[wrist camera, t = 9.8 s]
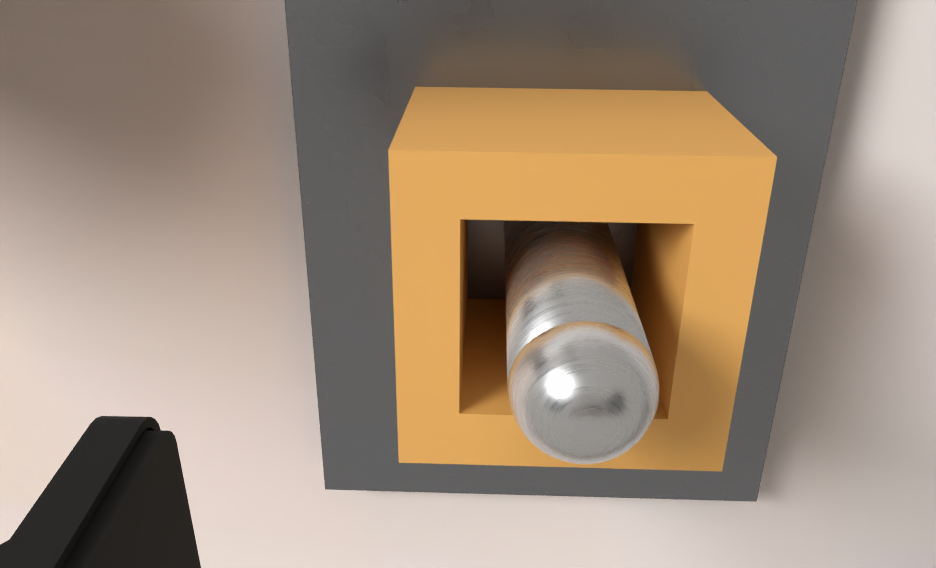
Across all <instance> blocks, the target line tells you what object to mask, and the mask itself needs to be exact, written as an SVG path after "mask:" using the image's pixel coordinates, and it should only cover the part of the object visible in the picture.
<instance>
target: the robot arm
mask: <svg viewBox="0 0 936 568" xmlns="http://www.w3.org/2000/svg"><path fill="white" fill-rule="evenodd" d="M0 568H201V566H200V561H199V556H198V550H197V545H196V540H195V535H194V530H193V525H192V520H191V514H190V509H189V504H188V499H187V494H186V489H185V484H184V478H183V473H182V468H181V463H180V458H179V453H178V448H177V442H176V439H175V436H174V434H173V433H172V432H171V431H161V430H160V427H159V424H158V423H157V421H156V420H155V419H154V418H152V417H120V416H101V417H98V418H96V419H95V420H94V421H93V422H92V423H91V424H90V425H89V427H88V428H87V430H86V431H85V432H84V434H83V435H82V437H81V438H80V440H79V441H78V442H77V444H76V445H75V447H74V448H73V450H72V451H71V453H70V454H69V455H68V457H67V458H66V460H65V461H64V463H63V464H62V465H61V467H60V468H59V470H58V471H57V473H56V474H55V475H54V477H53V478H52V480H51V481H50V483H49V484H48V485H47V487H46V488H45V490H44V491H43V493H42V494H41V495H40V497H39V498H38V500H37V501H36V503H35V504H34V505H33V507H32V508H31V510H30V511H29V513H28V514H27V515H26V517H25V518H24V520H23V521H22V523H21V524H20V525H19V527H18V528H17V530H16V531H15V533H14V534H13V535H12V537H11V538H10V540H8V541H6V542H4V543H3V544H1V545H0Z"/></svg>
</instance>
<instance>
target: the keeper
mask: <svg viewBox="0 0 936 568" xmlns="http://www.w3.org/2000/svg"><path fill="white" fill-rule="evenodd" d="M856 4H857V0H285V10H286V22H287V34H288V46H289V58H290V70H291V82H292V94H293V106H294V118H295V130H296V142H297V154H298V167H299V179H300V191H301V203H302V215H303V227H304V239H305V251H306V263H307V275H308V287H309V299H310V311H311V323H312V335H313V347H314V360H315V372H316V384H317V396H318V408H319V420H320V432H321V444H322V456H323V468H324V480H325V489H333V490H369V491H405V492H440V493H476V494H512V495H548V496H583V497H619V498H655V499H691V500H726V501H757V496H758V491H759V486H760V481H761V476H762V471H763V466H764V461H765V456H766V451H767V446H768V441H769V436H770V431H771V426H772V421H773V416H774V411H775V407H776V402H777V397H778V392H779V387H780V382H781V377H782V372H783V367H784V362H785V357H786V352H787V347H788V342H789V337H790V332H791V327H792V322H793V317H794V312H795V307H796V302H797V297H798V292H799V287H800V282H801V277H802V272H803V267H804V262H805V257H806V252H807V247H808V242H809V238H810V233H811V228H812V223H813V218H814V213H815V208H816V203H817V198H818V193H819V188H820V183H821V178H822V173H823V168H824V163H825V158H826V153H827V148H828V143H829V138H830V133H831V128H832V123H833V118H834V113H835V108H836V103H837V98H838V93H839V88H840V83H841V78H842V73H843V69H844V64H845V59H846V54H847V49H848V44H849V39H850V34H851V29H852V24H853V19H854V14H855V9H856ZM415 87H467V88H531V89H594V90H658V91H707V92H708V93H709V94H710V95H711V96H713V97H714V98H715V99H716V100H717V101H718V102H719V103H720V104H721V105H722V106H723V107H724V108H725V109H726V110H728V111H729V112H730V113H731V114H732V115H733V116H734V117H735V118H736V119H737V120H738V121H739V122H740V123H741V124H742V125H744V126H745V127H746V128H747V129H748V130H749V131H750V132H751V133H752V134H753V135H754V136H755V137H756V138H757V139H759V140H760V141H761V142H762V143H763V144H764V145H765V146H766V147H767V148H768V149H769V150H770V151H771V152H772V153H774V154H775V155H776V156H777V162H776V167H775V173H774V179H773V184H772V190H771V196H770V201H769V207H768V213H767V219H766V224H765V230H764V236H763V241H762V247H761V253H760V258H759V264H758V270H757V276H756V281H755V287H754V293H753V298H752V304H751V310H750V315H749V321H748V327H747V332H746V338H745V344H744V350H743V355H742V361H741V367H740V372H739V378H738V384H737V389H736V395H735V401H734V406H733V412H732V418H731V424H730V429H729V435H728V441H727V446H726V452H725V458H724V463H723V469H722V471H686V470H649V469H613V468H577V467H540V466H504V465H467V464H431V463H399V456H398V426H397V396H396V366H395V337H394V307H393V277H392V248H391V218H390V188H389V158H388V149H389V147H390V145H391V142H392V140H393V138H394V135H395V133H396V131H397V128H398V126H399V124H400V121H401V119H402V117H403V114H404V112H405V110H406V107H407V105H408V103H409V100H410V98H411V96H412V93H413V91H414V89H415ZM637 228H638V223H620V222H569V221H519V220H468V299H504V300H506V339H507V386H508V399H509V404H510V408H511V411H512V414H513V416H514V419H515V421H516V423H517V425H518V426H519V428H520V429H521V431H522V432H523V434H524V435H525V436H526V438H527V439H528V440H529V441H530V442H531V443H532V444H533V445H535V446H536V447H537V448H539V449H540V450H541V451H542V452H544V453H546V454H548V455H549V456H551V457H554V458H556V459H559V460H562V461H565V462H569V463H574V464H595V463H601V462H605V461H608V460H611V459H614V458H616V457H618V456H620V455H622V454H623V453H625V452H627V451H628V450H629V449H631V448H632V447H633V446H634V445H636V444H637V443H638V442H639V441H640V439H641V438H642V437H643V436H644V434H645V433H646V432H647V430H648V429H649V427H650V425H651V423H652V421H653V419H654V416H655V414H656V410H657V406H658V402H659V378H658V373H657V369H656V365H655V362H654V359H653V356H652V353H651V350H650V347H649V344H648V341H647V338H646V335H645V333H644V330H643V327H642V324H641V321H640V318H639V315H638V312H637V309H636V306H635V303H634V300H633V297H632V294H631V286H632V276H633V267H634V257H635V247H636V238H637Z"/></svg>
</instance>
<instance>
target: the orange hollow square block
mask: <svg viewBox="0 0 936 568" xmlns="http://www.w3.org/2000/svg"><path fill="white" fill-rule="evenodd" d="M388 158H389V188H390V218H391V248H392V277H393V307H394V337H395V366H396V396H397V426H398V456H399V463H431V464H467V465H504V466H540V467H577V468H613V469H649V470H686V471H722V469H723V463H724V458H725V452H726V446H727V441H728V435H729V429H730V424H731V418H732V412H733V406H734V401H735V395H736V389H737V384H738V378H739V372H740V367H741V361H742V355H743V350H744V344H745V338H746V332H747V327H748V321H749V315H750V310H751V304H752V298H753V293H754V287H755V281H756V276H757V270H758V264H759V258H760V253H761V247H762V241H763V236H764V230H765V224H766V219H767V213H768V207H769V201H770V196H771V190H772V184H773V179H774V173H775V167H776V162H777V156H776V155H775V154H774V153H772V152H771V151H770V150H769V149H768V148H767V147H766V146H765V145H764V144H763V143H762V142H761V141H760V140H759V139H757V138H756V137H755V136H754V135H753V134H752V133H751V132H750V131H749V130H748V129H747V128H746V127H745V126H744V125H742V124H741V123H740V122H739V121H738V120H737V119H736V118H735V117H734V116H733V115H732V114H731V113H730V112H729V111H728V110H726V109H725V108H724V107H723V106H722V105H721V104H720V103H719V102H718V101H717V100H716V99H715V98H714V97H713V96H711V95H710V94H709V93H708V92H707V91H658V90H594V89H531V88H467V87H415V89H414V91H413V93H412V96H411V98H410V100H409V103H408V105H407V107H406V110H405V112H404V114H403V117H402V119H401V121H400V124H399V126H398V128H397V131H396V133H395V135H394V138H393V140H392V142H391V145H390V147H389V149H388ZM468 220H519V221H569V222H620V223H638V228H637V238H636V247H635V257H634V267H633V276H632V286H631V294H632V297H633V300H634V303H635V306H636V309H637V312H638V315H639V318H640V321H641V324H642V327H643V330H644V333H645V335H646V338H647V341H648V344H649V347H650V350H651V353H652V356H653V359H654V362H655V365H656V369H657V373H658V378H659V402H658V406H657V410H656V414H655V416H654V419H653V421H652V423H651V425H650V427H649V429H648V430H647V432H646V433H645V434H644V436H643V437H642V438H641V439H640V441H639V442H638V443H637V444H636V445H634V446H633V447H632V448H631V449H629V450H628V451H627V452H625V453H623V454H622V455H620V456H618V457H616V458H614V459H611V460H608V461H605V462H601V463H595V464H574V463H569V462H565V461H562V460H559V459H556V458H554V457H551V456H549V455H548V454H546V453H544V452H542V451H541V450H540V449H539V448H537V447H536V446H535V445H533V444H532V443H531V442H530V441H529V440H528V439H527V438H526V436H525V435H524V434H523V432H522V431H521V429H520V428H519V426H518V425H517V423H516V421H515V419H514V416H513V414H512V411H511V408H510V404H509V399H508V386H507V339H506V300H504V299H468Z"/></svg>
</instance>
